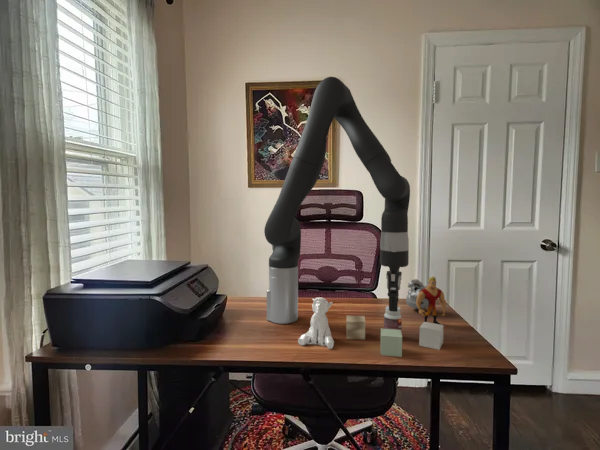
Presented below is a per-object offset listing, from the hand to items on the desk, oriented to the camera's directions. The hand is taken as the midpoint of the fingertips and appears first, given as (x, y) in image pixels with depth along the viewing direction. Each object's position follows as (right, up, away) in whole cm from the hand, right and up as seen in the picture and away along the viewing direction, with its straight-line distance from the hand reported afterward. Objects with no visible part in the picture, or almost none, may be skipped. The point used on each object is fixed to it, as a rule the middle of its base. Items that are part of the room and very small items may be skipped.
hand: (393, 306), depth 98 cm
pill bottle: (0, -9, +1) cm, 9 cm away
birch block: (-10, -9, +2) cm, 14 cm away
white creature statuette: (-21, -9, -2) cm, 23 cm away
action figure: (+14, -8, +11) cm, 20 cm away
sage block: (-3, -9, -9) cm, 13 cm away
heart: (+15, -7, +23) cm, 29 cm away
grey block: (+9, -9, -4) cm, 13 cm away
